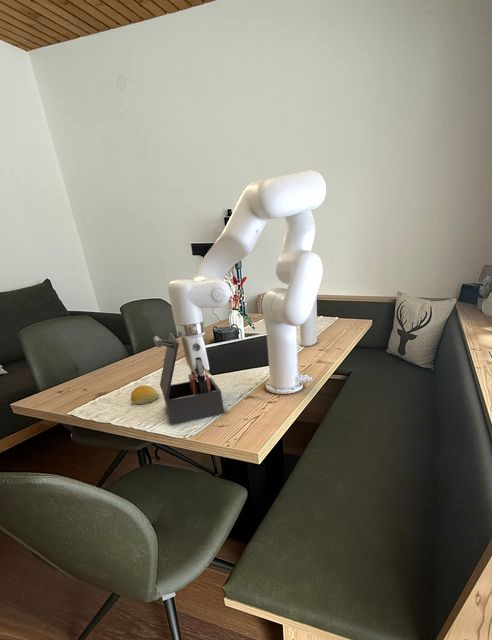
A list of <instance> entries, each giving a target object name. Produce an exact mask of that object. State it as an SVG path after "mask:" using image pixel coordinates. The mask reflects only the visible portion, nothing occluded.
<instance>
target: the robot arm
mask: <svg viewBox="0 0 492 640" xmlns="http://www.w3.org/2000/svg"><path fill="white" fill-rule="evenodd" d="M326 195H327V184H326V180H325V179H324V177H323V175H322V174H321V173H320V172H318V171H317V170H314V169H307V170H303V171H298V172H294V173H289V174H284V175H279V176H272V177H266V178H262V179H259V180H255V181H251V183H249V184H248V185H246V187H245V189H244V190H243V192H242V194H241V195H240V197H239V200H238V201H237V203H236V205H235V207H234V209H233V211H232V213H231V216H230V217H229V219H228V221H227V223H226V225H225V227H224V229H223V231H222V232H221V234H220V236H219V237H218V238H217V239H216V240H215V242H214V243H213V245H212V246H211V248H209V250H208V251H207V253H206V254H205V255H204V257H203V258H202V260H201V263H200V265H199V266H198V269H197V270H196V272H195V274H194V276H193V278H192V279H175V280H171V281H170V282H168V284H167V291H168V296H169V301H170V307H171V312H172V317H173V322H174V328H175V332H176V336H177V337H178V338H181V342H182V347H183V352H184V357H185V361H186V364H187V366H188V368H189V370H190V374H195V379H196V382H195V384H196V390H197V394H200V393H205V392H208V386H207V380H206V376H205V373H206V371H207V372H208V371H209V370H210V363H209V358H208V354H207V348H206V344H205V341H204V340H205V339H204V335H205V334H206V331H205V324H204V318H203V312H202V309H206V308H207V309H218V308H222V307H224V306H226V305H227V304H228V303H229V301H230V300H231V296H232V294H231V293H232V292H231V288H230V286H229V284H228V283H227V282H226V281H225V280H224V278H225V276H227V273H228V272H229V271H230V270H231V269H232V268H233V267H234V266H235V265H236V264H238V263H239V262H241V261H242V260H245V258H247V257H248V256H249V255H250V254H252V251H253V250H254V247H255V245H256V243H257V241H258V240H259V238H260V236H261V234H262V232H263V231H264V229H265V227H266V224H267V222H268V221H269V220H272V219H280V218H285V231H284V232H285V233H284V237H283V241H282V244H281V247H280V251H279V254H278V258H277V262H276V265H275V275H276V277H277V279H278V280H279V281H280V283H283V284H285V285H287V288H284V287H273V288H271V289H269V290H267V291H266V292H265V293H264V294H263V298H262V301H261V311H262V316H263V320H264V325H265V332H266V344H267V345H266V346H267V359H268V371H269V380H268V381H267V382H266V384H265V389H266V390H267V391H268V392H269V393H272V394H278V395H289V394H294V393H297V392H299V391H300V390H302V389H303V387H304V383H310V384H311V383H312V381H313V379H312V378H313V377H312V376H309V374H302V375H301V374H300V371H299V365H298V364H299V363H298V334H297V327H300V325H302V324H303V323H305V321H306V320H307V319H308V317H309V315H310V313H311V311H312V308H313V305H314V302H315V299H316V295H318V292H319V289H320V287H321V284H322V283H321V282H322V279H323V273H324V272H323V271H324V270H323V269H324V268H323V262H322V260H321V258H320V256H319V255H318V254H317V253H316V252H314V251H312V249H313V246H314V242H315V237H316V223H315V219H314V218H315V217H314V216H313V212H312V211H314V210H315V209H317V208H320V206H321V205H322V204H323V202H324V200H325V198H326ZM197 373H199V375H198V376H197Z"/></svg>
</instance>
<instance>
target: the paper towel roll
mask: <svg viewBox="0 0 492 640" xmlns="http://www.w3.org/2000/svg"><path fill="white" fill-rule="evenodd" d="M317 295H318V294H317ZM317 295H316V299H315V302H314V305H313V308H312V311H311V313H310V315H309V317H308V319H307V320H306V321H305V323H303V324H302V325H300V326H299V331H300V332H299V333H300V336H299V338H300V345H301V346H304V347H311V346H313V345H316V343H317V342H318V330H317V329H318V309H317V308H318V306H317V305H318V304H317V303H318V302H317V299H318V298H317V297H318V296H317Z"/></svg>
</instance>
